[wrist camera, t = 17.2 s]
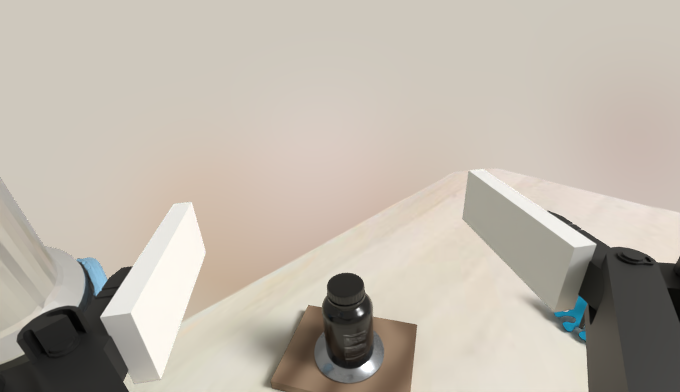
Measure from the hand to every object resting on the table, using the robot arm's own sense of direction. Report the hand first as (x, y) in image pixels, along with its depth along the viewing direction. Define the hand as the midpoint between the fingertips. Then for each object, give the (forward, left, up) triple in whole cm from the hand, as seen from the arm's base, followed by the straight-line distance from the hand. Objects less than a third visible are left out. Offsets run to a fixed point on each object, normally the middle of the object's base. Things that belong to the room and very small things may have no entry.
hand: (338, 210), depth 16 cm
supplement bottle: (-6, +18, -33) cm, 38 cm away
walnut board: (-6, +18, -35) cm, 40 cm away
